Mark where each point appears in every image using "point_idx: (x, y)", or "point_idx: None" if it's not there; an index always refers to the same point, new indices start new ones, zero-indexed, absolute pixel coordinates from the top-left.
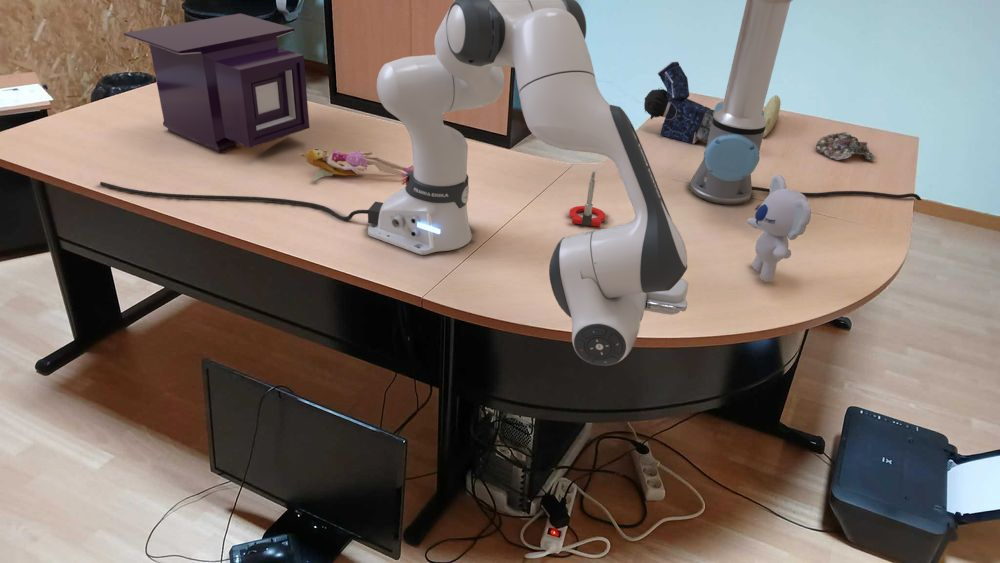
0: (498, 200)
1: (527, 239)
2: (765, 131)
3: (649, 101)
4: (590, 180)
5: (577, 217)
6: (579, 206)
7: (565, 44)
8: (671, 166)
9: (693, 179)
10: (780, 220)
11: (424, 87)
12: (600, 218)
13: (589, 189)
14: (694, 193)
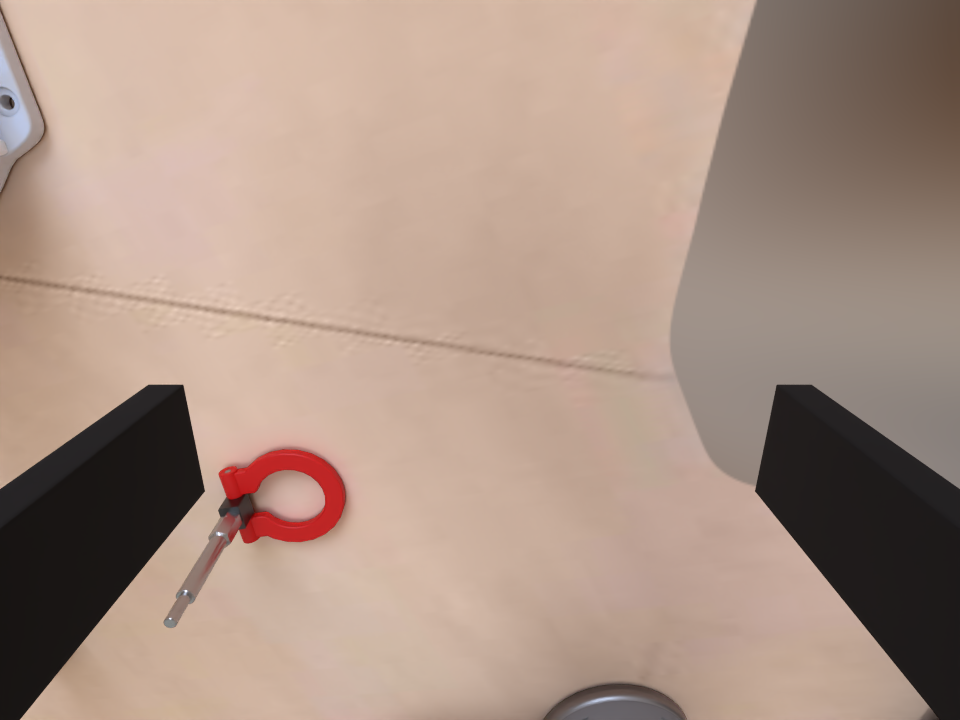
0: (260, 220)
1: (70, 378)
2: None
3: None
4: (181, 593)
5: (242, 483)
6: (324, 471)
7: None
8: (755, 633)
9: (607, 714)
10: None
11: None
12: (275, 534)
13: (190, 572)
14: (571, 697)
